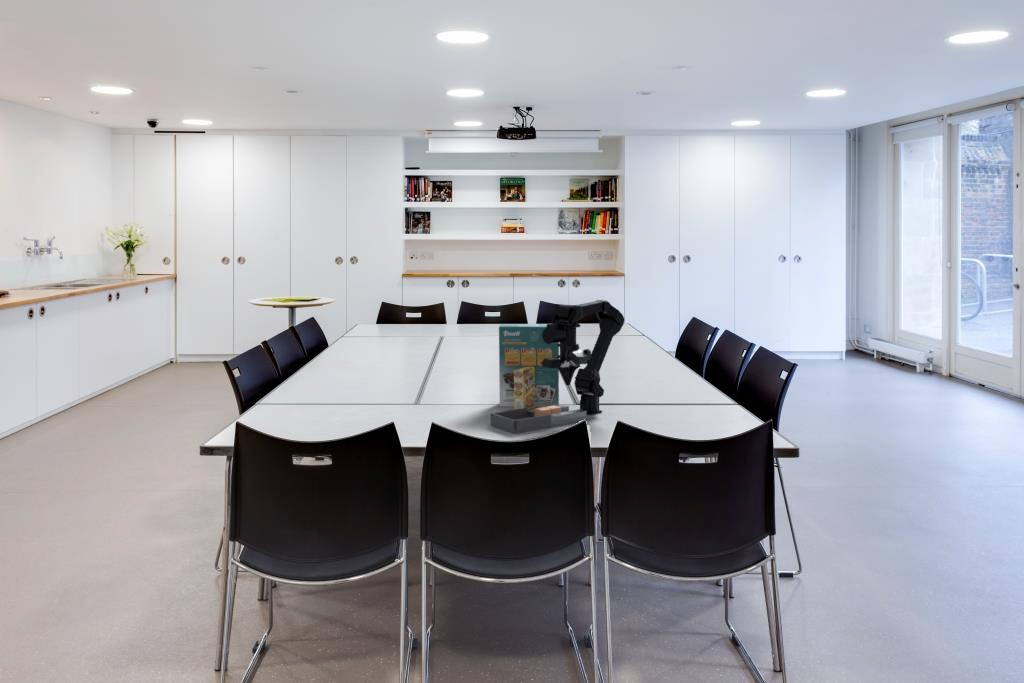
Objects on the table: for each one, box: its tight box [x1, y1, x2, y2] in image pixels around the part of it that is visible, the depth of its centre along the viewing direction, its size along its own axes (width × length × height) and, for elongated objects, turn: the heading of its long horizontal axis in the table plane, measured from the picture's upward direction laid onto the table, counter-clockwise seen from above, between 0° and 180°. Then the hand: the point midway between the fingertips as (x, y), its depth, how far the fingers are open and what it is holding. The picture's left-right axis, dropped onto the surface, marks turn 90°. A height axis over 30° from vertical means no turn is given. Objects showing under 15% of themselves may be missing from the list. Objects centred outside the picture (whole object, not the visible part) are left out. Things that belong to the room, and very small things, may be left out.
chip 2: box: [546, 405, 561, 414], centre depth 292 cm, size 4×4×4 cm
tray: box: [490, 408, 552, 435], centre depth 284 cm, size 15×14×4 cm
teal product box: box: [498, 324, 560, 408], centre depth 315 cm, size 22×6×30 cm, turn 84°
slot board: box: [528, 404, 588, 428], centre depth 293 cm, size 16×14×3 cm
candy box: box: [514, 367, 536, 410], centre depth 309 cm, size 9×4×15 cm, turn 150°
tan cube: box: [534, 407, 551, 417], centre depth 289 cm, size 4×4×4 cm
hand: (567, 385), depth 294 cm, fingers closed
